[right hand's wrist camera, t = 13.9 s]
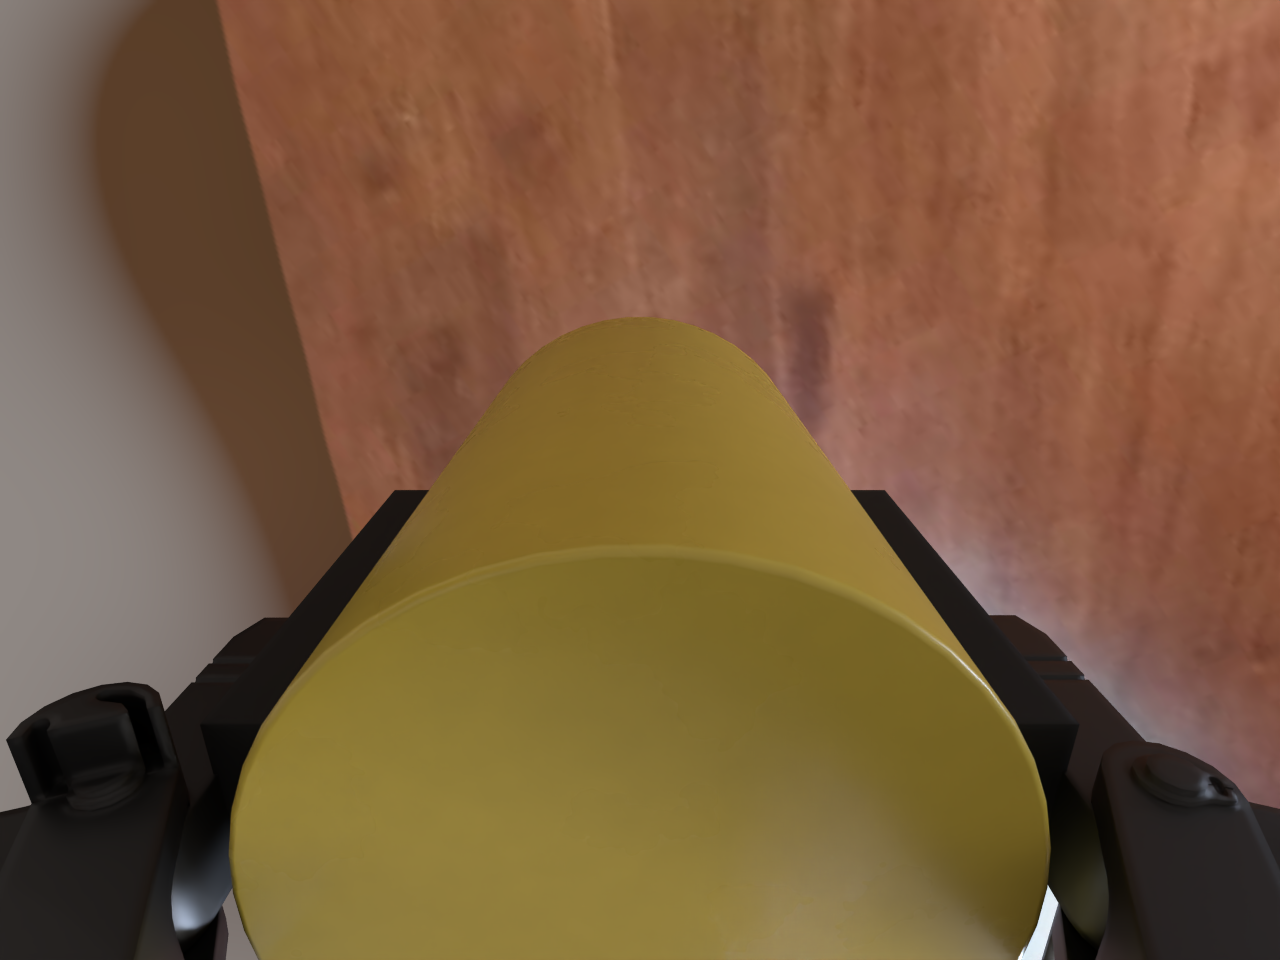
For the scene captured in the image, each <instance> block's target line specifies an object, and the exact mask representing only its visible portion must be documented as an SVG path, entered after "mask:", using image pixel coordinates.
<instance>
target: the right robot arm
mask: <svg viewBox="0 0 1280 960" xmlns="http://www.w3.org/2000/svg"><path fill="white" fill-rule="evenodd" d="M428 491H429V490H395V491H394V492H393V493H392V494H391V495H390V497H389V498H388V499H387V500H386V501H385V503H384V504H383V505H382V506H381V507H380V509H379V510H378V511H377V512H376V513H375V515H374V516H373V517H372V518H371V519H370V521H369V522H368V523H367V524H366V525H365V527H364V528H363V529H362V530H361V531H360V533H359V534H358V535H357V536H356V537H355V539H354V540H353V541H352V542H351V543H350V545H349V546H348V547H347V548H346V549H345V551H344V552H343V553H342V554H341V555H340V557H339V558H338V559H337V560H336V562H335V563H334V564H333V565H332V566H331V568H330V569H329V570H328V571H327V572H326V573H325V575H324V576H323V577H322V578H321V579H320V581H319V582H318V583H317V584H316V585H315V587H314V588H313V589H312V590H311V591H310V593H309V594H308V595H307V596H306V597H305V599H304V600H303V601H302V602H301V603H300V605H299V606H298V607H297V608H296V610H295V611H294V612H293V613H292V614H291V615H290V617H289V618H263V619H262V620H260V621H258V622H257V623H255V624H254V625H252V626H250V627H249V628H247V629H245V630H244V631H242V632H241V633H239V634H237V635H236V636H234V637H233V638H232V639H231V640H230V641H229V642H228V643H227V645H226V646H225V647H224V648H223V649H222V650H221V651H220V652H219V653H218V654H217V655H216V656H215V658H214V659H213V663H212V664H208V665H207V666H206V667H205V668H204V669H203V671H202V672H201V673H200V674H199V675H198V676H197V677H196V682H195V683H191V684H190V685H189V686H188V687H187V688H186V689H185V690H184V691H183V692H182V693H181V694H180V696H179V697H178V698H177V699H176V700H175V701H174V702H173V703H172V704H171V705H170V706H169V707H168V709H167V710H166V711H164V708H163V705H162V701H161V698H160V694H159V692H157V691H156V690H154V689H153V688H151V687H150V686H149V685H146V684H139V683H131V682H123V683H114V684H106V685H100V686H96V687H93V688H90V689H86V690H83V691H79V692H76V693H73V694H70V695H68V696H66V697H64V698H62V699H60V700H57V701H55V702H53V703H51V704H49V705H47V706H44V707H43V708H42V709H40V710H39V711H37V712H36V713H34V714H33V715H31V716H30V717H28V718H27V719H26V720H24V721H23V722H21V723H20V724H19V726H18V727H17V728H16V729H15V730H14V731H13V733H12V734H11V735H10V736H9V737H8V738H7V739H6V741H7V743H8V746H9V748H10V751H11V753H12V756H13V758H14V761H15V763H16V766H17V768H18V770H19V773H20V776H21V778H22V781H23V783H24V785H25V788H26V790H27V793H28V795H29V798H30V800H31V803H32V804H31V805H30V806H26V807H22V808H17V809H13V810H8V811H4V812H0V960H226V951H227V942H228V928H227V922H226V917H225V913H224V910H223V907H222V904H223V902H224V901H225V899H226V897H227V896H228V894H229V892H230V891H231V889H232V879H231V871H230V862H229V840H230V824H231V811H232V805H233V801H234V797H235V793H236V789H237V785H238V782H239V778H240V774H241V770H242V766H243V764H244V762H245V760H246V757H247V755H248V753H249V751H250V749H251V747H252V744H253V742H254V740H255V738H256V736H257V734H258V731H259V729H260V727H261V725H262V724H263V722H264V721H265V719H266V718H267V716H268V715H269V714H270V712H271V711H272V709H273V708H274V706H275V705H276V704H277V702H278V701H279V699H280V698H281V696H282V695H283V693H284V692H285V691H286V689H287V688H288V686H289V685H290V683H291V682H292V681H293V679H294V678H295V677H296V675H297V674H298V672H299V671H300V670H301V668H302V667H303V665H304V664H305V663H306V661H307V660H308V658H309V657H310V656H311V654H312V653H313V651H314V650H315V649H316V647H317V646H318V644H319V643H320V642H321V640H322V639H323V638H324V636H325V635H326V633H327V632H328V631H329V629H330V628H331V626H332V625H333V624H334V622H335V621H336V619H337V618H338V617H339V615H340V614H341V612H342V611H343V610H344V608H345V607H346V605H347V604H348V603H349V601H350V600H351V599H352V597H353V596H354V594H355V593H356V592H357V590H358V589H359V587H360V586H361V585H362V583H363V582H364V580H365V579H366V578H367V576H368V575H369V573H370V572H371V571H372V569H373V568H374V566H375V565H376V564H377V562H378V561H379V560H380V558H381V557H382V555H383V554H384V553H385V551H386V550H387V548H388V547H389V546H390V544H391V543H392V541H393V540H394V539H395V537H396V536H397V534H398V533H399V532H400V530H401V529H402V527H403V526H404V525H405V523H406V522H407V521H408V519H409V518H410V516H411V515H412V514H413V512H414V511H415V509H416V508H417V507H418V505H419V504H420V502H421V501H422V500H423V498H424V497H425V495H426V494H427V493H428ZM850 491H851V492H852V493H853V495H854V496H855V498H856V499H857V500H858V502H859V503H860V505H861V506H862V507H863V509H864V510H865V512H866V513H867V514H868V516H869V517H870V519H871V520H872V521H873V523H874V524H875V525H876V527H877V528H878V530H879V531H880V532H881V534H882V535H883V537H884V538H885V539H886V541H887V542H888V544H889V545H890V546H891V548H892V549H893V551H894V552H895V553H896V555H897V556H898V558H899V559H900V560H901V562H902V563H903V565H904V566H905V567H906V569H907V570H908V572H909V573H910V574H911V576H912V577H913V578H914V580H915V581H916V583H917V584H918V585H919V587H920V588H921V590H922V591H923V592H924V594H925V595H926V597H927V598H928V599H929V601H930V602H931V604H932V605H933V606H934V608H935V609H936V611H937V612H938V613H939V615H940V616H941V618H942V619H943V620H944V622H945V623H946V625H947V626H948V627H949V629H950V630H951V632H952V633H953V634H954V636H955V637H956V638H957V640H958V641H959V643H960V644H961V645H962V647H963V648H964V650H965V651H966V652H967V654H968V655H969V657H970V658H971V659H972V661H973V662H974V664H975V665H976V666H977V668H978V669H979V671H980V672H981V673H982V675H983V676H984V678H985V679H986V680H987V682H988V683H989V685H990V686H991V687H992V689H993V690H994V692H995V693H996V694H997V696H998V697H999V698H1000V700H1001V701H1002V703H1003V704H1004V705H1005V707H1006V708H1007V710H1008V711H1009V712H1010V714H1011V715H1012V717H1013V718H1014V719H1015V721H1016V723H1017V725H1018V727H1019V729H1020V731H1021V733H1022V735H1023V737H1024V740H1025V742H1026V744H1027V746H1028V748H1029V750H1030V752H1031V754H1032V756H1033V758H1034V760H1035V763H1036V767H1037V770H1038V774H1039V777H1040V781H1041V784H1042V788H1043V791H1044V795H1045V798H1046V803H1047V812H1048V823H1049V833H1050V844H1051V853H1050V864H1049V875H1048V886H1049V888H1050V889H1051V891H1052V893H1053V894H1054V896H1055V898H1056V899H1057V901H1058V907H1057V910H1056V913H1055V917H1054V920H1053V923H1052V927H1051V930H1050V934H1049V937H1048V940H1047V944H1046V947H1045V950H1044V954H1043V957H1042V960H1280V809H1278V808H1273V807H1269V806H1264V805H1259V804H1255V803H1251V802H1248V801H1247V800H1246V798H1245V797H1244V796H1243V794H1242V793H1241V791H1240V790H1239V789H1238V787H1237V786H1236V785H1235V784H1234V783H1233V782H1232V781H1231V780H1229V779H1228V778H1227V777H1225V776H1224V775H1223V774H1222V773H1220V772H1219V771H1218V770H1217V769H1215V768H1214V767H1213V766H1211V765H1209V764H1207V763H1205V762H1203V761H1201V760H1200V759H1198V758H1196V757H1194V756H1192V755H1190V754H1188V753H1186V752H1183V751H1180V750H1177V749H1174V748H1171V747H1168V746H1165V745H1162V744H1159V743H1151V742H1146V741H1145V740H1144V739H1143V738H1142V737H1141V736H1140V735H1139V734H1138V733H1137V731H1136V730H1135V729H1134V728H1133V727H1132V726H1131V725H1130V724H1129V723H1128V722H1127V721H1126V720H1125V719H1124V717H1123V716H1122V715H1121V714H1120V713H1119V712H1118V711H1117V710H1116V709H1115V708H1114V707H1113V706H1112V705H1111V703H1110V702H1109V701H1108V700H1107V699H1106V698H1105V697H1104V696H1103V695H1102V694H1101V693H1100V692H1099V691H1098V689H1097V688H1096V687H1095V686H1094V685H1093V684H1092V683H1091V682H1090V681H1089V680H1085V679H1084V674H1083V673H1082V672H1081V671H1080V670H1079V669H1078V668H1077V667H1076V666H1075V665H1074V664H1073V662H1072V661H1067V656H1066V655H1065V654H1064V653H1063V652H1062V651H1061V650H1060V648H1059V647H1058V646H1057V645H1056V644H1055V643H1054V642H1053V641H1052V640H1051V639H1050V638H1049V637H1048V636H1047V634H1045V633H1043V632H1042V631H1040V630H1038V629H1037V628H1035V627H1034V626H1032V625H1030V624H1029V623H1027V622H1025V621H1024V620H1022V619H1020V618H1019V617H1017V616H1016V615H988V614H987V612H986V611H985V610H984V609H983V608H982V606H981V605H980V604H979V603H978V602H977V600H976V599H975V598H974V597H973V596H972V594H971V593H970V592H969V591H968V590H967V588H966V587H965V586H964V585H963V584H962V582H961V581H960V580H959V579H958V578H957V576H956V575H955V574H954V573H953V572H952V570H951V569H950V568H949V567H948V566H947V564H946V563H945V562H944V561H943V560H942V558H941V557H940V556H939V555H938V554H937V552H936V551H935V550H934V549H933V548H932V546H931V545H930V544H929V543H928V542H927V540H926V539H925V538H924V537H923V536H922V534H921V533H920V532H919V531H918V530H917V528H916V527H915V526H914V525H913V524H912V522H911V521H910V520H909V519H908V518H907V516H906V515H905V514H904V513H903V512H902V510H901V509H900V508H899V507H898V506H897V504H896V503H895V502H894V501H893V500H892V498H891V497H890V496H889V495H888V494H887V492H886V491H885V490H850Z"/></svg>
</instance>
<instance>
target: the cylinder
mask: <svg viewBox="0 0 1280 960" xmlns="http://www.w3.org/2000/svg"><path fill="white" fill-rule="evenodd" d="M1050 853H1051V844H1050V833H1049V823H1048V812H1047V803H1046V798H1045V795H1044V791H1043V788H1042V784H1041V781H1040V777H1039V774H1038V770H1037V767H1036V763H1035V760H1034V758H1033V756H1032V754H1031V752H1030V750H1029V748H1028V746H1027V744H1026V742H1025V740H1024V737H1023V735H1022V733H1021V731H1020V729H1019V727H1018V725H1017V723H1016V721H1015V719H1014V718H1013V717H1012V715H1011V714H1010V712H1009V711H1008V710H1007V708H1006V707H1005V705H1004V704H1003V703H1002V701H1001V700H1000V698H999V697H998V696H997V694H996V693H995V692H994V690H993V689H992V687H991V686H990V685H989V683H988V682H987V680H986V679H985V678H984V676H983V675H982V673H981V672H980V671H979V669H978V668H977V666H976V665H975V664H974V662H973V661H972V659H971V658H970V657H969V655H968V654H967V652H966V651H965V650H964V648H963V647H962V645H961V644H960V643H959V641H958V640H957V638H956V637H955V636H954V634H953V633H952V632H951V630H950V629H949V627H948V626H947V625H946V623H945V622H944V620H943V619H942V618H941V616H940V615H939V613H938V612H937V611H936V609H935V608H934V606H933V605H932V604H931V602H930V601H929V599H928V598H927V597H926V595H925V594H924V592H923V591H922V590H921V588H920V587H919V585H918V584H917V583H916V581H915V580H914V578H913V577H912V576H911V574H910V573H909V572H908V570H907V569H906V567H905V566H904V565H903V563H902V562H901V560H900V559H899V558H898V556H897V555H896V553H895V552H894V551H893V549H892V548H891V546H890V545H889V544H888V542H887V541H886V539H885V538H884V537H883V535H882V534H881V532H880V531H879V530H878V528H877V527H876V525H875V524H874V523H873V521H872V520H871V519H870V517H869V516H868V514H867V513H866V512H865V510H864V509H863V507H862V506H861V505H860V503H859V502H858V500H857V499H856V498H855V496H854V495H853V493H852V492H851V491H850V489H849V488H848V486H847V485H846V484H845V482H844V481H843V479H842V478H841V477H840V475H839V474H838V472H837V471H836V470H835V468H834V467H833V465H832V464H831V463H830V461H829V460H828V459H827V457H826V456H825V454H824V453H823V452H822V450H821V449H820V447H819V446H818V445H817V443H816V442H815V440H814V439H813V438H812V436H811V435H810V433H809V432H808V431H807V429H806V428H805V426H804V425H803V424H802V422H801V421H800V419H799V418H798V417H797V415H796V414H795V412H794V411H793V410H792V408H791V407H790V405H789V404H788V403H787V401H786V400H785V399H784V397H783V396H782V394H781V393H780V392H779V390H778V389H777V387H776V386H775V385H774V383H773V382H772V381H771V379H770V378H769V376H768V375H767V374H766V373H765V372H764V371H763V370H762V369H761V368H760V367H759V366H758V365H757V364H756V363H755V362H754V361H753V359H751V358H750V357H749V356H748V355H746V354H745V353H744V352H742V351H741V350H740V349H739V348H737V347H736V346H735V345H733V344H731V343H730V342H728V341H726V340H724V339H723V338H721V337H719V336H717V335H716V334H713V333H711V332H709V331H706V330H704V329H701V328H699V327H696V326H694V325H690V324H686V323H682V322H678V321H675V320H669V319H661V318H653V317H625V318H619V319H612V320H605V321H601V322H597V323H594V324H590V325H587V326H583V327H580V328H578V329H576V330H573V331H571V332H569V333H567V334H564V335H562V336H560V337H559V338H557V339H555V340H554V341H552V342H550V343H549V344H547V345H545V346H544V347H542V348H541V349H540V350H538V351H537V352H536V353H535V354H533V355H532V356H531V357H530V358H529V359H527V360H526V361H525V362H524V363H523V364H522V365H521V366H520V367H519V368H518V370H517V371H516V372H515V373H514V374H513V375H512V376H511V377H510V378H509V380H508V381H507V383H506V384H505V385H504V387H503V388H502V390H501V391H500V392H499V394H498V395H497V397H496V398H495V399H494V401H493V402H492V404H491V405H490V406H489V408H488V409H487V410H486V412H485V413H484V415H483V416H482V417H481V419H480V420H479V422H478V423H477V424H476V426H475V427H474V429H473V430H472V431H471V433H470V434H469V436H468V437H467V438H466V440H465V441H464V443H463V444H462V445H461V447H460V448H459V449H458V451H457V452H456V454H455V455H454V456H453V458H452V459H451V461H450V462H449V463H448V465H447V466H446V468H445V469H444V470H443V472H442V473H441V475H440V476H439V477H438V479H437V480H436V482H435V483H434V484H433V486H432V487H431V488H430V490H429V491H428V493H427V494H426V495H425V497H424V498H423V500H422V501H421V502H420V504H419V505H418V507H417V508H416V509H415V511H414V512H413V514H412V515H411V516H410V518H409V519H408V521H407V522H406V523H405V525H404V526H403V527H402V529H401V530H400V532H399V533H398V534H397V536H396V537H395V539H394V540H393V541H392V543H391V544H390V546H389V547H388V548H387V550H386V551H385V553H384V554H383V555H382V557H381V558H380V560H379V561H378V562H377V564H376V565H375V566H374V568H373V569H372V571H371V572H370V573H369V575H368V576H367V578H366V579H365V580H364V582H363V583H362V585H361V586H360V587H359V589H358V590H357V592H356V593H355V594H354V596H353V597H352V599H351V600H350V601H349V603H348V604H347V605H346V607H345V608H344V610H343V611H342V612H341V614H340V615H339V617H338V618H337V619H336V621H335V622H334V624H333V625H332V626H331V628H330V629H329V631H328V632H327V633H326V635H325V636H324V638H323V639H322V640H321V642H320V643H319V644H318V646H317V647H316V649H315V650H314V651H313V653H312V654H311V656H310V657H309V658H308V660H307V661H306V663H305V664H304V665H303V667H302V668H301V670H300V671H299V672H298V674H297V675H296V677H295V678H294V679H293V681H292V682H291V683H290V685H289V686H288V688H287V689H286V691H285V692H284V693H283V695H282V696H281V698H280V699H279V701H278V702H277V704H276V705H275V706H274V708H273V709H272V711H271V712H270V714H269V715H268V716H267V718H266V719H265V721H264V722H263V724H262V725H261V727H260V729H259V731H258V734H257V736H256V738H255V740H254V742H253V744H252V747H251V749H250V751H249V753H248V755H247V757H246V760H245V762H244V764H243V766H242V770H241V774H240V778H239V782H238V785H237V789H236V793H235V797H234V801H233V805H232V811H231V824H230V840H229V862H230V871H231V879H232V888H233V894H234V898H235V901H236V904H237V908H238V911H239V914H240V918H241V921H242V924H243V928H244V931H245V933H246V935H247V937H248V939H249V941H250V943H251V945H252V947H253V949H254V951H255V953H256V955H257V958H258V960H1021V959H1022V957H1023V955H1024V953H1025V950H1026V948H1027V946H1028V944H1029V942H1030V940H1031V937H1032V935H1033V933H1034V931H1035V929H1036V926H1037V924H1038V920H1039V916H1040V913H1041V909H1042V905H1043V902H1044V898H1045V894H1046V891H1047V886H1048V875H1049V864H1050Z"/></svg>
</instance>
